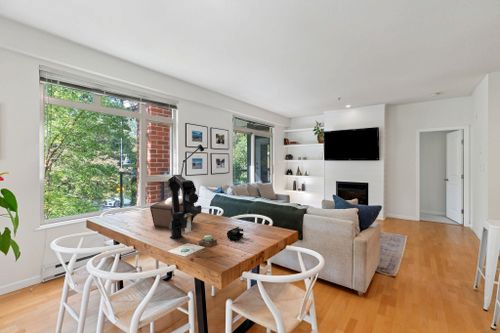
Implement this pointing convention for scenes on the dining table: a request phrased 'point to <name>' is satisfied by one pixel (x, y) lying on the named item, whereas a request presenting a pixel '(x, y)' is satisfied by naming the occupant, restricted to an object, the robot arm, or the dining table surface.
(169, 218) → the tissue box
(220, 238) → the dining table surface
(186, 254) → the paper
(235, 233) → the end cap
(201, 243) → the button housing
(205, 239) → the button
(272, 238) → the dining table surface
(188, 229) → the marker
